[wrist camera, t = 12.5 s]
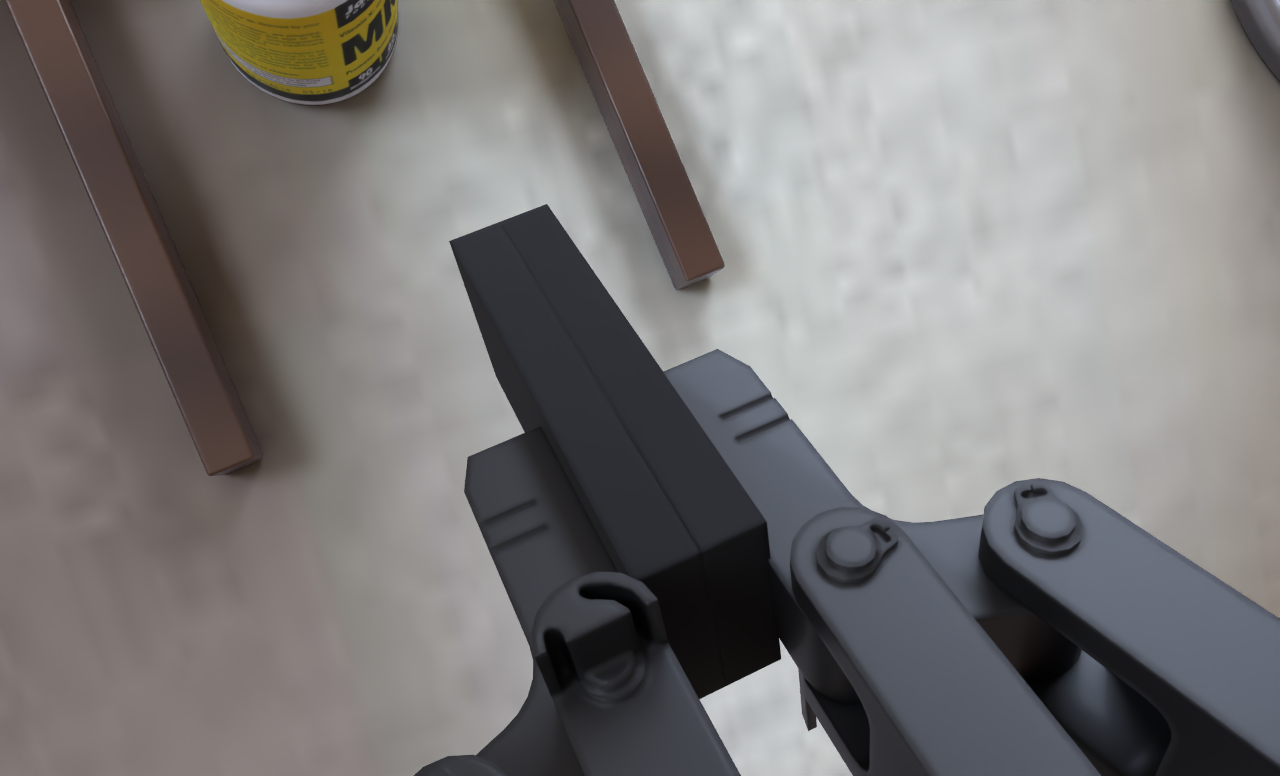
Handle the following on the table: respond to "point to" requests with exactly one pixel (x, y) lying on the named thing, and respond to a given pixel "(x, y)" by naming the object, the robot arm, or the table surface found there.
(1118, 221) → the table surface
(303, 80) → the supplement bottle
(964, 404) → the table surface
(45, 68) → the bay
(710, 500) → the robot arm
